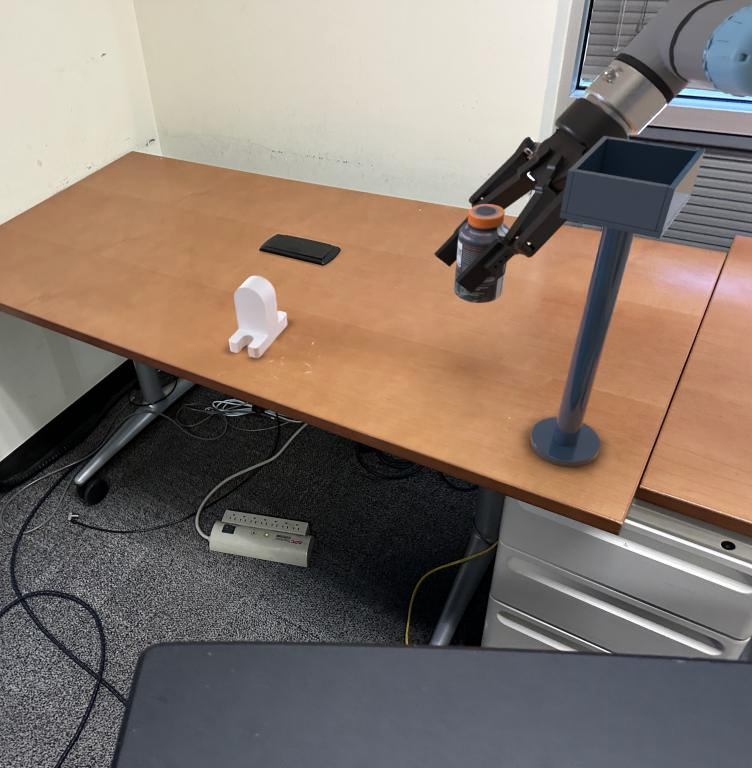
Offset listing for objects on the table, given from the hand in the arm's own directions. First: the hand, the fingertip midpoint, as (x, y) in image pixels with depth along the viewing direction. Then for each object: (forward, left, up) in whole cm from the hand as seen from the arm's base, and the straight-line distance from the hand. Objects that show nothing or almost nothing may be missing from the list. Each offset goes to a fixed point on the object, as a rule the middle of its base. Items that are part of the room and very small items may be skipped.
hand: (452, 272), depth 85 cm
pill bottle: (-2, -3, -4) cm, 5 cm away
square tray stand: (-18, +4, -16) cm, 25 cm away
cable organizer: (+28, +7, -16) cm, 33 cm away
